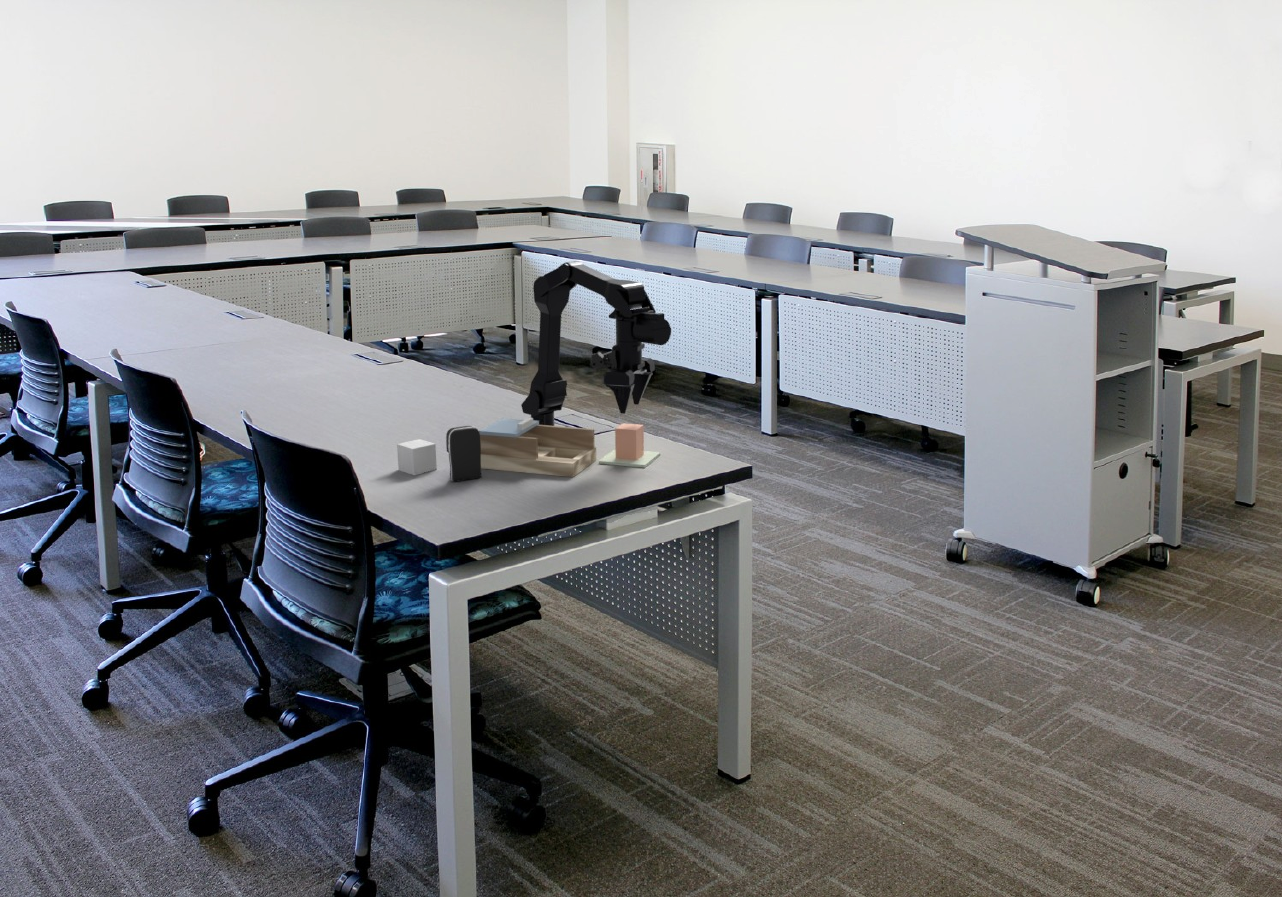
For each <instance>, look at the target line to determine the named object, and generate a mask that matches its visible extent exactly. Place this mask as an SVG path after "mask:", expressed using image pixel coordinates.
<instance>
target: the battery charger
mask: <svg viewBox="0 0 1282 897" xmlns="http://www.w3.org/2000/svg"><path fill="white" fill-rule="evenodd" d="M479 431H480V430H479V429H478V428H477V427H475V426H473V425H463V426H456V427H452V428H449V429H448V430H447V432H446V434H445V435H446V436H445V440H446V441H445V442H446V443H445V444H446V452H447V453H448V460H449V461H448V462H449V478H450V480H451V481H452V482H462V481H468V480H475V479H480V478H481V477H482V468H481V441H480V433H479Z"/></svg>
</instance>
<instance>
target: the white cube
mask: <svg viewBox="0 0 1282 897" xmlns="http://www.w3.org/2000/svg"><path fill="white" fill-rule="evenodd" d="M396 448H397V450H396V451H397V464H398V465H397V466H398V471H400V472H404V473H407V474H409V475H413V476H416V475H420V474H425V473H428V471H429V472H432V471H436V470H437V466H438V465H437V451H436V450H437V448H436V443H434V442H430V441H428V440H427V441H426V440H424V439H420V438H418V439H413V440H410V441H405V442H404V441H403V442H400V443H396ZM424 472H425V473H424Z"/></svg>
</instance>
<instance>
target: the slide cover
mask: <svg viewBox="0 0 1282 897" xmlns="http://www.w3.org/2000/svg"><path fill="white" fill-rule="evenodd" d="M537 425H539V421H534V420H533V418H531V417H527V418H526V419H525V418H524V419H520V418H505V417H503V418H501V419H499V420H498V421H495V422H493V423H491V424H490V425H487V426H485V427H484V428H482V429H480V430H479V433H480V435H492V436H504V437H518V436H520V435H522V434H523V433H525V432H527V431H529V430H530V429H532V428H534V427H535V426H537Z"/></svg>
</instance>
